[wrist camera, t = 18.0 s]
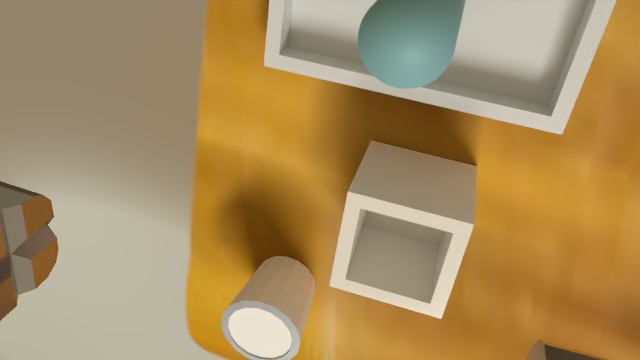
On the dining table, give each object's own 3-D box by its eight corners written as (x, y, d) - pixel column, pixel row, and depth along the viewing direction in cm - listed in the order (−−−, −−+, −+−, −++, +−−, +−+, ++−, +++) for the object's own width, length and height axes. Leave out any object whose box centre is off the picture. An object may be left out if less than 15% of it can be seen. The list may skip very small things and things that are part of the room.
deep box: (476, 166, 40) (473, 224, 34) (448, 251, 44) (441, 318, 38) (371, 140, 42) (347, 191, 35) (353, 225, 46) (329, 285, 39)
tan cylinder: (265, 237, 49) (234, 287, 43) (334, 273, 49) (312, 328, 43) (241, 287, 53) (210, 339, 47) (305, 321, 52) (281, 378, 47)
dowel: (476, -43, 33) (467, 2, 21) (459, 23, 35) (441, 98, 23) (411, -55, 34) (367, -18, 22) (397, 10, 36) (350, 77, 24)
